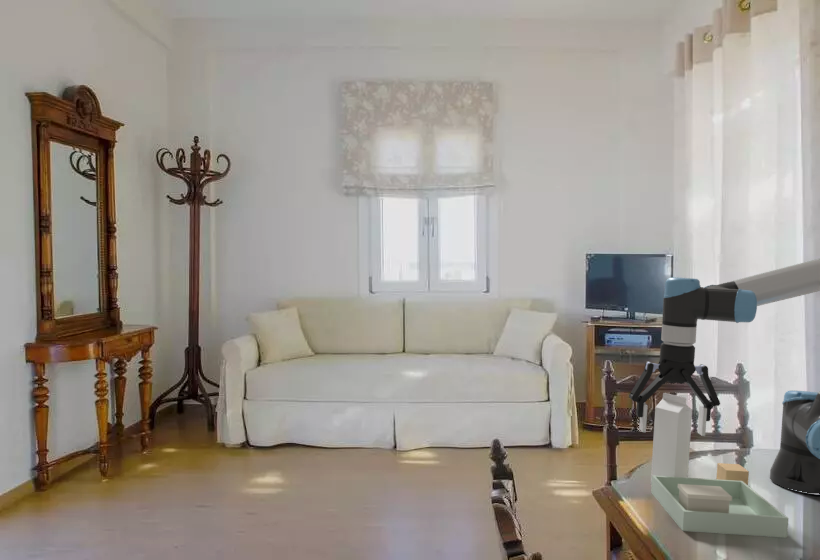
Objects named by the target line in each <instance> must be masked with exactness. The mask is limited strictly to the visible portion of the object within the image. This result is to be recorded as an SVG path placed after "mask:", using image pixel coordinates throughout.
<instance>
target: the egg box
mask: <svg viewBox="0 0 820 560" xmlns="http://www.w3.org/2000/svg"><path fill="white" fill-rule="evenodd" d="M678 488H679V503H680V504H681V506H682V507H683V508H684V509H685V510H688V511H703V512H719V513H729V502H730V501H732V496H731V495H729V494H728V493H727V492H726V491H725V490H724V489H723V488H722V487H720V486H706V485H689V484H678Z"/></svg>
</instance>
